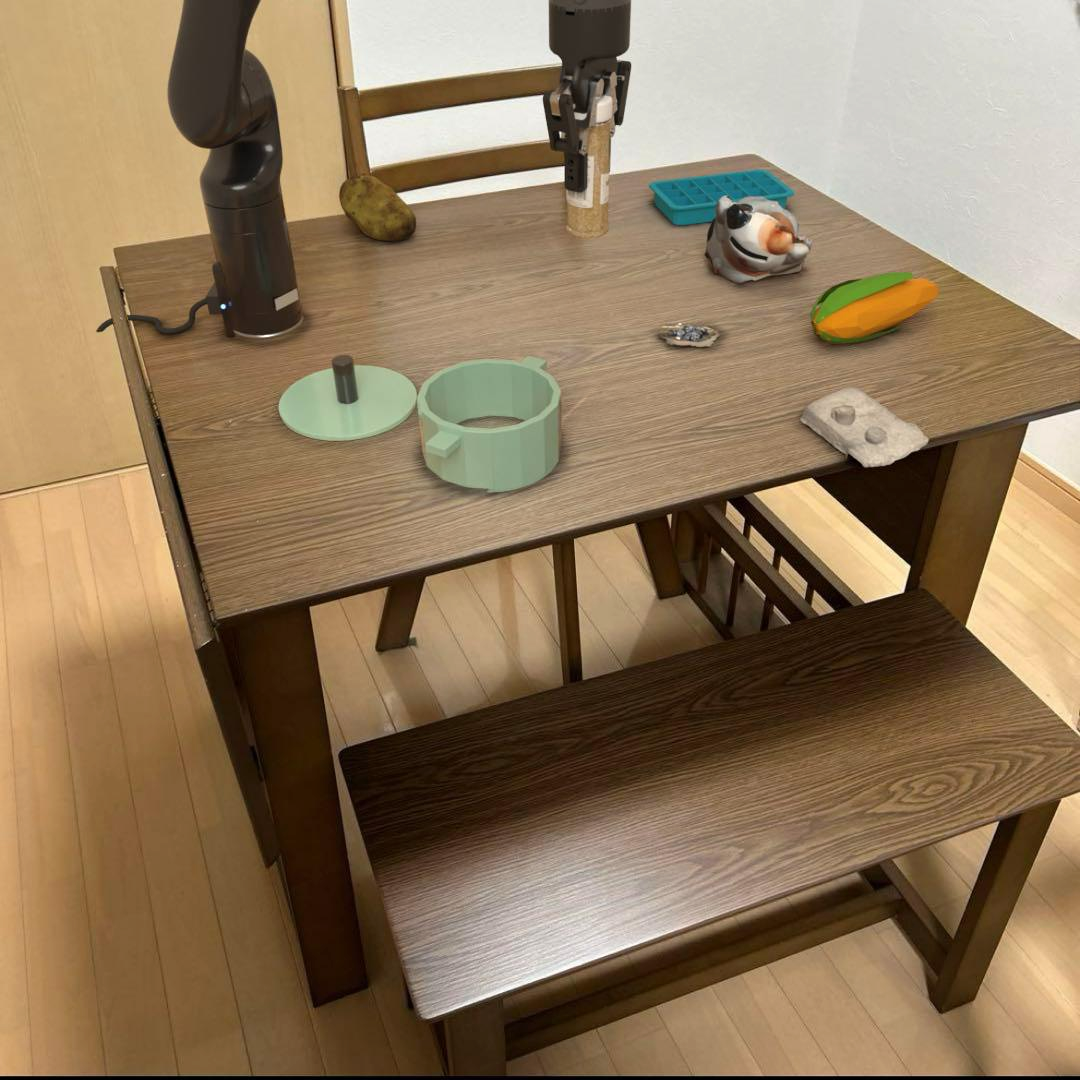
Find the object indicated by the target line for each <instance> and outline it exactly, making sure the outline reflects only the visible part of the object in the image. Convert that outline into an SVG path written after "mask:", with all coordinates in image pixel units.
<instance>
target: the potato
mask: <svg viewBox="0 0 1080 1080" xmlns="http://www.w3.org/2000/svg"><path fill="white" fill-rule="evenodd" d="M338 198H339V202H340V206H341V209H342V211H343V213H344V215H345V217H347V219H348V220H349V221H351V222H352V223H354V224H356V225H357V226H358V227H359V229H360V231H361V232H362V233H363V234H364V235H365V236H367V237H370V238H371V239H374V240H377V241H384V242H397V241H405V240H406V239H408V238H410V237H411V236H413V235H414V234H415V232H416V229H417V218H416V216H415V213H414V212H413V210H412V208H411V207H410V206H408V204H407V203H406V202H405V201H404V200H403V199H402V198H401V196H399V194H397V191H396V190H394V189H392V188H391V186H389V185H387V184H385V183H384V182H382V181H381V180H380V179H379V178H377V177H375V176H374V175H370V174H366V173H361V174H360V173H359V174H354V175H352V176H351V177H348V178H347V179H346V180H344V181H343V182H342V184H341V185H340V187H339V194H338Z"/></svg>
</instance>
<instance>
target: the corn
mask: <svg viewBox="0 0 1080 1080" xmlns="http://www.w3.org/2000/svg"><path fill="white" fill-rule="evenodd" d="M913 276H914V273H913V272H912V271H911V272H909V271H908V272H907V271H905V272H904V271H901V272H900V271H899V272H898V271H897V272H895V271H894V272H885V273H880V274H875V275H871V276H867V277H865V278H857V279H848V280H846V281H843V282H841V283H838V284H835V285H833V286H830V287H829V288H828V289H826V290H825V291H824V292H823V293H822V294H820V296H819V297H818V298H817V299H816V301H815V303H814V304H813V306H812V308H811V310H810V313H809V317H810V324H811V327H812V331H813V334H814V335H815V336H817V337H819V338H820V339H821V340H822V341H825V342H827V343H829V344H833V345H834V344H853V343H860V342H865V341H869V340H872V339H876V338H878V337H881V336H885V335H888V334H890V333H892V332H894V331H896V330H898V329H901V328H904V327H906V326H907V325H908V323H904V324H902V325H900V326H896V325H898V324H899V323H902V322H904V321H905V320H907V319H908V318H911V317H912V316H914V315H915V314H917V313H918V312H919V311H921V310H922V309H923V308H925V307H926V306H927V305H929V304H930V303H932V302H933V301H935V299H937V298H938V295H939V289H940V286H939V285H937V284H936V283H934V282H932V281H931V280H929V279H927V278H924V277H923V278H913ZM818 305H819V306H818ZM817 306H818V307H817ZM895 326H896V327H895ZM889 328H890V329H889ZM884 330H885V331H884ZM882 331H883V332H882Z"/></svg>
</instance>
